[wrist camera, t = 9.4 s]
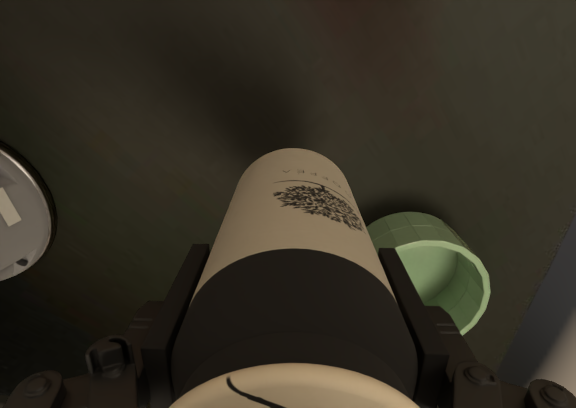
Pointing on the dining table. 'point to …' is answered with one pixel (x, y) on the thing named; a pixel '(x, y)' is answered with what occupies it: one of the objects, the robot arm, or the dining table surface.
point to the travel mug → (293, 301)
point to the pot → (436, 264)
